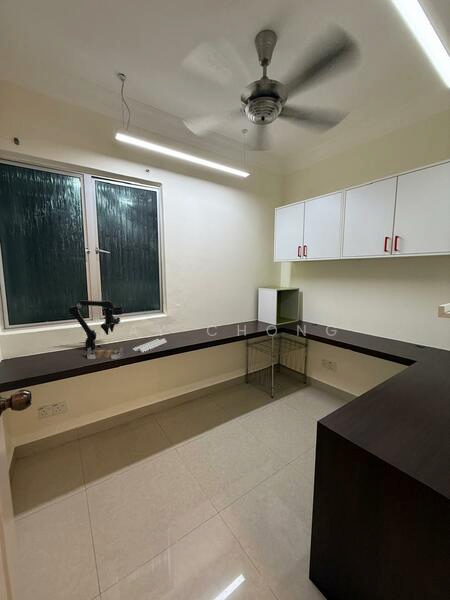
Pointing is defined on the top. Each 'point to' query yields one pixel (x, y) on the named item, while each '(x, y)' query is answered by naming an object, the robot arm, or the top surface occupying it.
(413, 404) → the top surface
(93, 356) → the cup brackets
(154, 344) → the crown molding
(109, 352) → the rail
